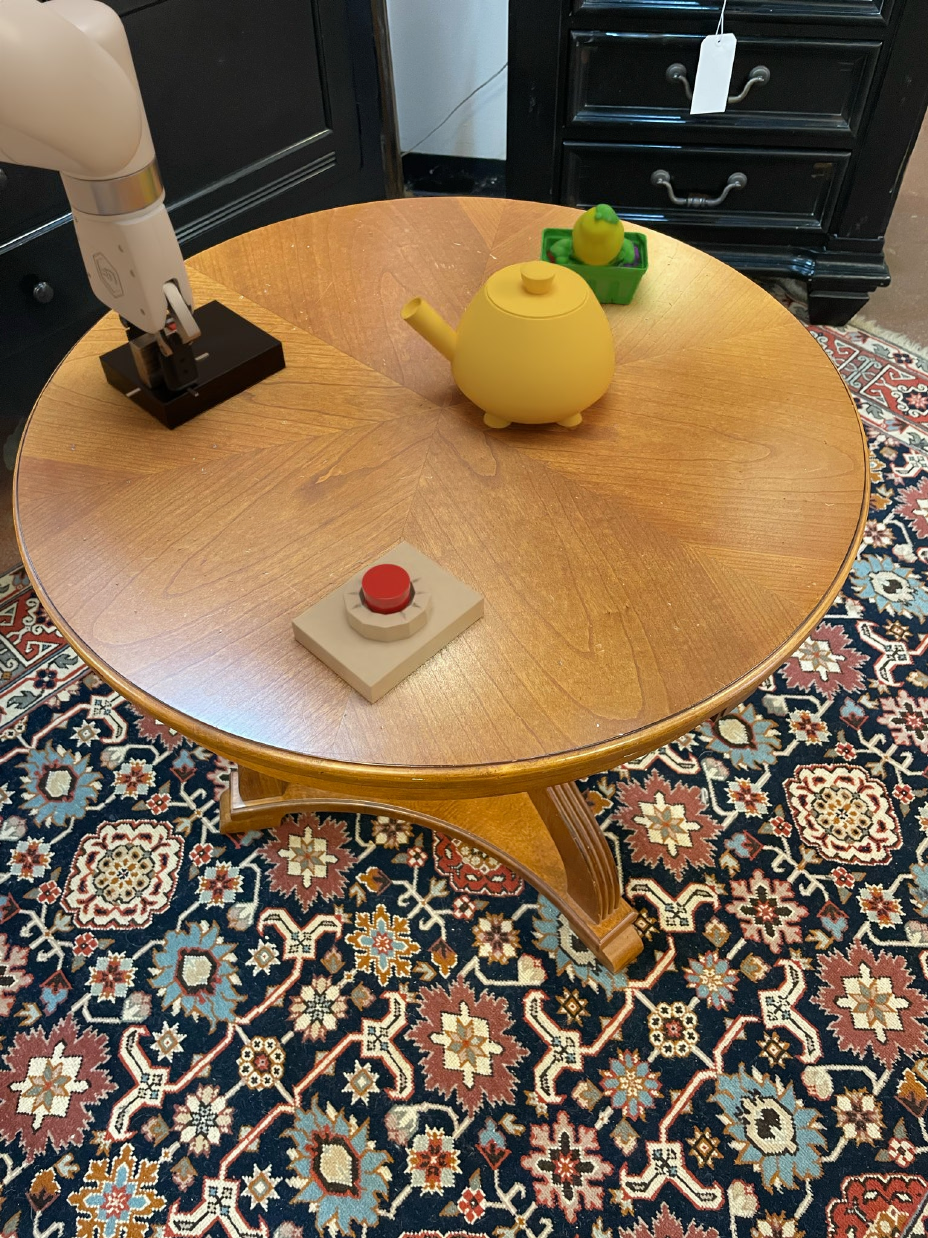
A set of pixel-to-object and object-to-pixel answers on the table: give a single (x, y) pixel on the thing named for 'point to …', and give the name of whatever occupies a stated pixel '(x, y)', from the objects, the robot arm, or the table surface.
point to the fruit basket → (599, 254)
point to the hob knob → (149, 357)
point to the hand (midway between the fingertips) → (167, 370)
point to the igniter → (388, 624)
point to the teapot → (526, 345)
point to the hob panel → (202, 367)
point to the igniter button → (386, 589)
